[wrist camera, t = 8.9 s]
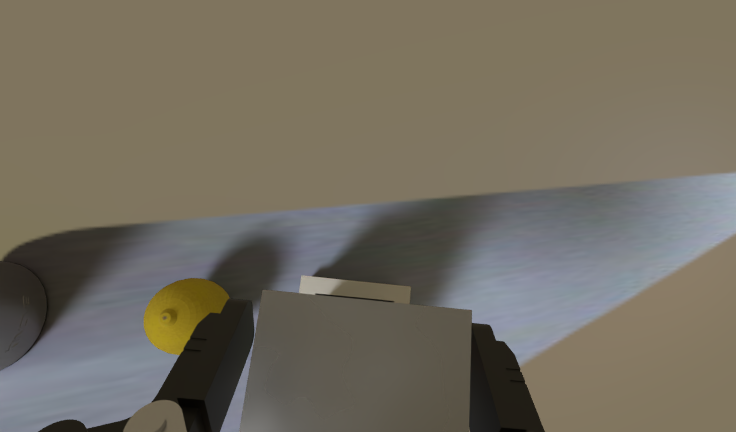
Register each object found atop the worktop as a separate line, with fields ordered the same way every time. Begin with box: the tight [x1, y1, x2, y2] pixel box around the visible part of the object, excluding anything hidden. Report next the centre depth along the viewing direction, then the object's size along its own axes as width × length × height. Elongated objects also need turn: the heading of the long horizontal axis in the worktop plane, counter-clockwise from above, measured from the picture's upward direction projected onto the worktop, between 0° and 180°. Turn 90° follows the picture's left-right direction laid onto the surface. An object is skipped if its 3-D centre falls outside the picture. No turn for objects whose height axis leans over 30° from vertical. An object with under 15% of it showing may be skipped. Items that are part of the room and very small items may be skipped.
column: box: [239, 290, 472, 432], centre depth 15 cm, size 5×5×17 cm
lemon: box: [144, 278, 230, 355], centre depth 26 cm, size 6×6×8 cm
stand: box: [299, 276, 411, 304], centre depth 25 cm, size 8×8×12 cm
